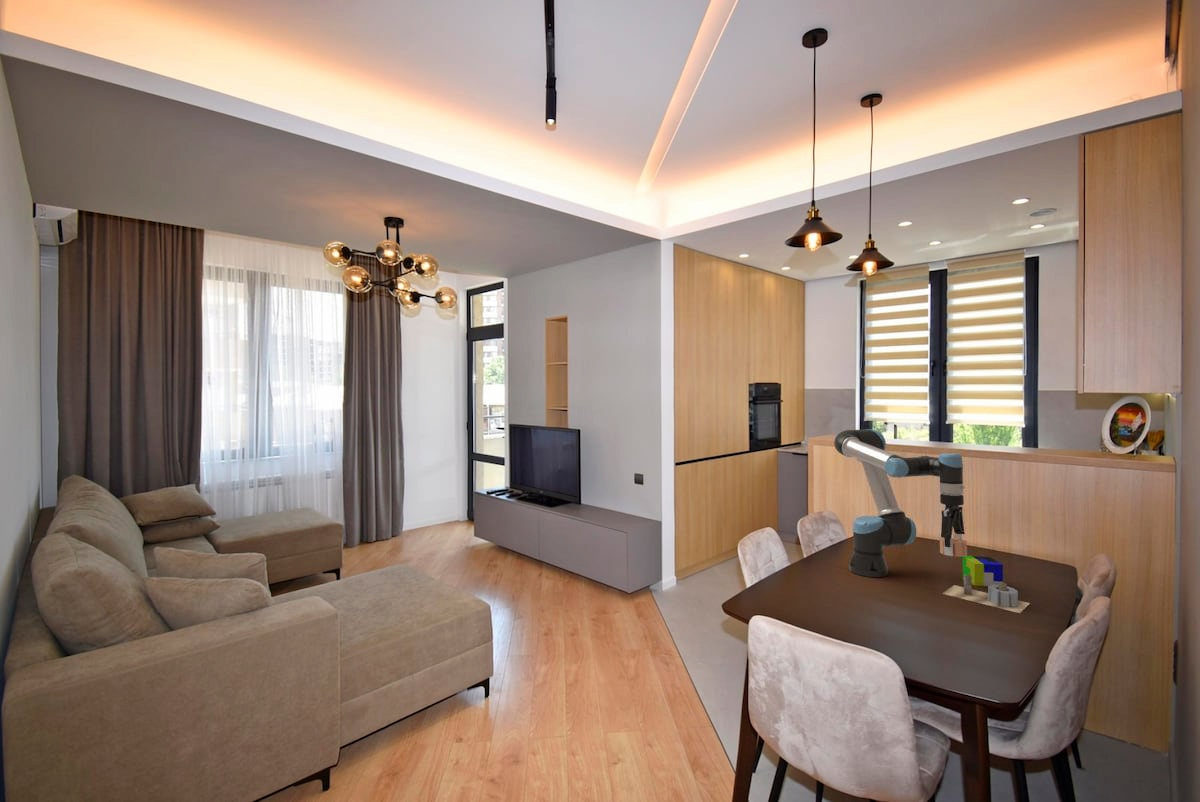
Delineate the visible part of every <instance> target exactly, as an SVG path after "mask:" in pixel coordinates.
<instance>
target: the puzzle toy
mask: <svg viewBox="0 0 1200 802" xmlns="http://www.w3.org/2000/svg"><path fill="white" fill-rule="evenodd" d="M964 575H970V576H972V586H974V587H975V586H977V587H980V586H981V587H988V586H989V585H996V586H997V585H999V582H1002V583H1004V565H1003V564H1002V563H1001V562H999V561H998V560H996V559H994V558H993V557H991V556H979V555H978V556H973V555H967V556H963V557H962V581H964Z"/></svg>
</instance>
